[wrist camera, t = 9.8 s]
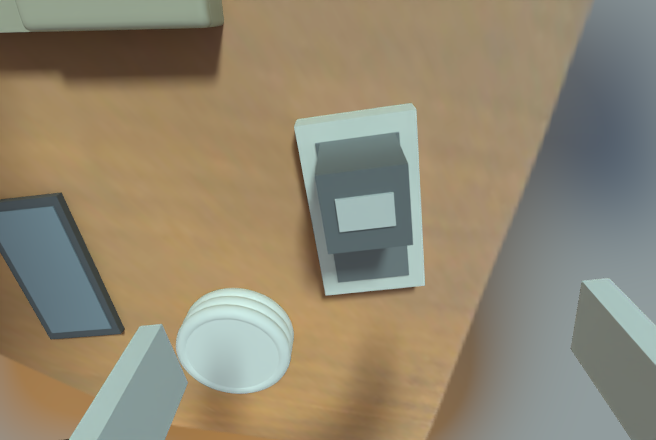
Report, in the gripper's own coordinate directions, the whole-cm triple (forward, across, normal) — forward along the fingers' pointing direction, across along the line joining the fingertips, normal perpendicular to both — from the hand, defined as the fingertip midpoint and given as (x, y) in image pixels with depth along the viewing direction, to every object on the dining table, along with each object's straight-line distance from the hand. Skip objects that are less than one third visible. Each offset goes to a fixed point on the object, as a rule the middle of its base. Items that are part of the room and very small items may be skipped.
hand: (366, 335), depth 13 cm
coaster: (+19, -12, -16) cm, 28 cm away
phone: (+19, -27, -7) cm, 34 cm away
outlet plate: (+19, 0, -4) cm, 19 cm away
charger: (+16, 0, -1) cm, 17 cm away
